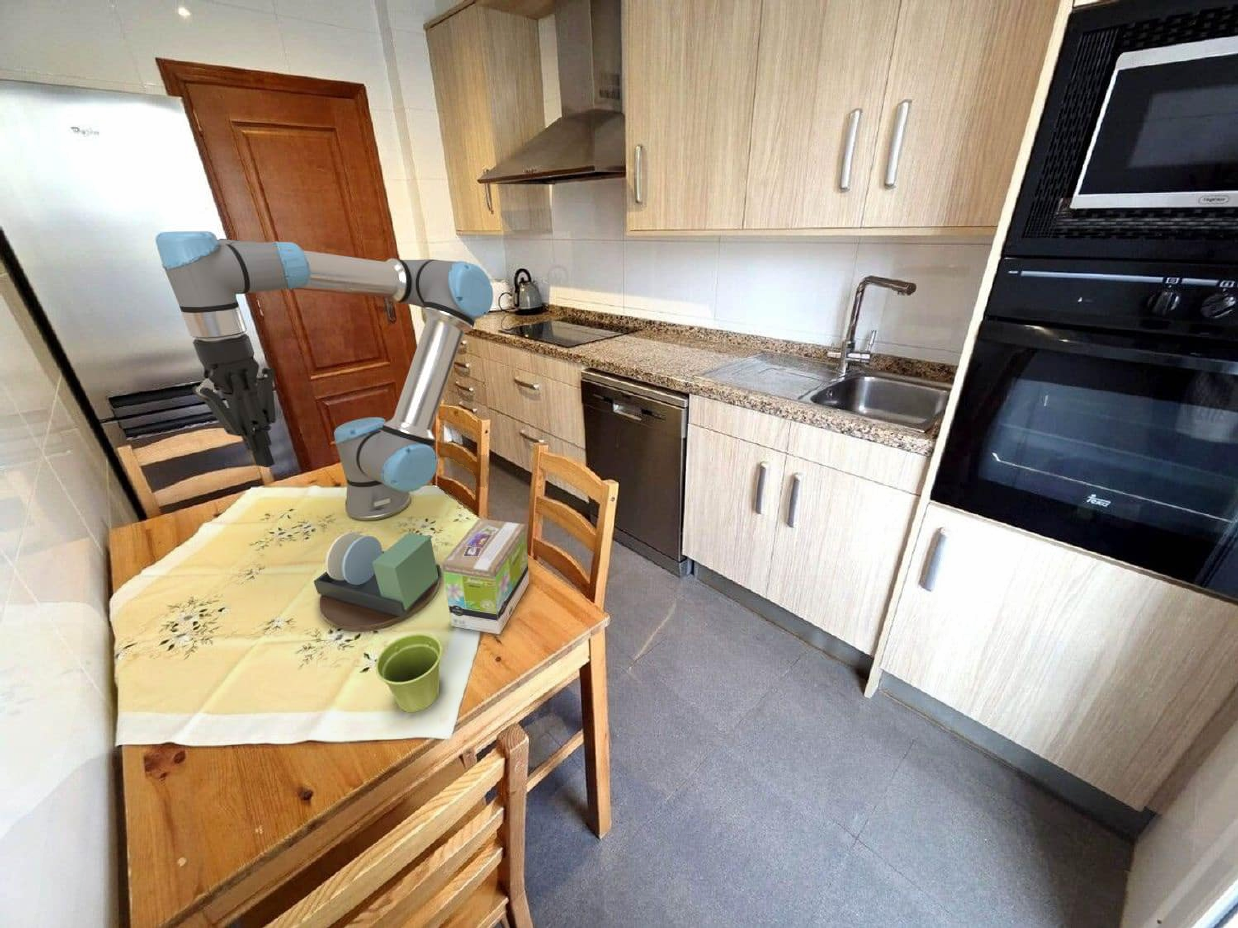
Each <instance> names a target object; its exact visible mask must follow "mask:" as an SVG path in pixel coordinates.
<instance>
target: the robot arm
mask: <svg viewBox="0 0 1238 928" xmlns="http://www.w3.org/2000/svg"><path fill="white" fill-rule="evenodd" d="M217 237H218V236H216V234H215V233H214V232H211V231H207V230H192V231H191V230H190V231H189V230H182V231H181V230H180V231H178V230H177V231H176V230H175V231H161V232H158V234H157V235H156V236H155V245H156V247H157V251H158V254H159V257H160V261H161V266H162V269H164V272H165V274H166V276H167V279H168V281H169V284H170V287H171V289H172V292H173V294H174V296H175V298H176V299H175V300H176V301H177V304H178V306H179V310H180V312H181V314H182V317H183V320H184V323H185V326H186V328H187V331H188V333H189V336H190V337H192V338H195V339H193V341H192V345H193V347H194V350H195V352H196V355H197V359H198V361H199V362H200V363H201V364H202V367H203V374H202V375H203V381H202V382H200V385H195V386H192V388H191V392H193V394H195V395H196V396H198V397H199V398H201V399H202V400H203V401H204V403H205V404H206V406H207V407H208V409H209V410H210V411H211V413H212V414H213V416H214V417H215V419H216V420H217V422H218V423H219V424H220V426H221V427H222V428H223V430H224V431H225V433H226V434H227V435H229V436H230V435H231V436H236V437H241V439H242V441H243V444H244V447H245V450H246V451H247V452H250V453H251V455H252V457H253V459H254V462H255V465H256V466H257V467H262V468H267V469H268V468H270V467H272V466H274V465H275V464H276V463H275V460H274V457H273V454H272V452H271V448H270V446H272V440H271V436H270V433H269V432H270V431H271V429H272V426H271V424H275V423H276V421H277V418H276V417H277V416H276V408H275V407H276V406H275V394H274V384H273V383H274V378H275V374H276V371H275V369H274V368H271V367H264V366H262V365H260V363H259V362H258V361H257V360H256V359H255V357H254V356H255V351H254V347H253V345H252V340H251V338H250V336H249V335H248V334H247V333H245V332H247V329H248V327H247V325H246V322H245V319H244V316H243V313H242V311H241V308H240V304H239V301H238V298H237V295H246V294H250V293H261V292H262V293H263V292H274V291H283V290H288V291H291V290H300V291H301V290H302V291H313V292H314V291H315V292H325V293H337V294H347V295H360V296H369V297H370V296H372V297H382V298H387V299H388V300H389V301H390V302H393V303H400V304H408V305H411V306H416V307H419V308H422V309H421V310H422V312H423V314H424V316H425V323H424V325H423V329H422V332H421V334H420V337H419V341H418V344H417V345H416V346H417V347H416V349H415V353H414V355H413V358H412V361H411V365H410V367H409V370H408V373H407V376H406V379H405V382H404V385H403V387H402V390H401V393H400V396H399V400H398V402H397V405H396V408H395V411H394V414H393V417H392V418H391V419H389V420H387V421H386V419H384V418H383V417H378V416H374V417H371V416H370V417H364V418H359V419H354V420H351V421H348V422H344V423H343V424H341V425H339V426H338V427H336V428H335V430H334V433H333V436H334V444H335V445H336V449H337V453H338V457H339V461H340V463H341V467H342V469H343V470H342V471H343V473H344V477H345V480H346V484H347V486H346V499H345V502H344V507H345V512H346V514H347V516H348V517H349V519H353V520H356V521H362V522H374V521H380V520H384V519H388V518H391V517H393V516H396V515H398V514H400V513H402V512H404V510H406V509H407V508H408V507H409V505H410V503H411V501H412V497H411V492H415V491H419V490H420V489H421V488H422V487H425V486H426V485H427V484H429V483H430V482H431V481H432V480H433V478H434V476H435V474H436V473H437V470H438V466H439V458H438V457H437V456H438V455H437V453H436V452H435V450H434V445H435V443H436V437H435V435H434V433H433V431H432V429H433V428H434V424H435V421H436V418H437V415H438V412H439V409H440V406H441V403H442V400H443V398H444V394H445V391H446V387H447V385H448V382H449V380H450V376H451V374H452V370H453V367H454V364H455V361H456V360H457V359H456V358H457V357H458V352H459V350H460V347H461V344H462V341H463V338H464V335H465V334H466V333H468V332H471V331H473V329H474V327H475V325H476V324H475V323H476V321H477V319H481V318H483V317H484V316H486V315H487V314H488V313H489V311H491V309H492V306H493V303H494V288H493V285H492V284H491V279H490V278H489V275H488V273H487V272H485V270H484V269H483V268H481V267H480V266H479V265H478V264H474V263H471V262H467V261H464V260H459V261H456V260H455V261H453V260H443V259H433V258H432V259H431V258H427V259H425V258H424V259H400V258H388V259H387V260H386V261H382V260H381V261H380V260H375V259H374V260H373V259H369V258H368V259H366V258H360V257H354V256H353V257H352V256H348V255H347V256H346V255H339V254H333V253H325V252H317V251H310V250H304V249H302V248H301V246H299V245H297V244H296V243H295V242H292V241H277V240H275V241H267V242H260V241H259V242H257V241H244V240H233V239H227V238H219V239H218V238H217ZM216 388H217V389H218V390H220V393H221V395H222V397H223V398H224V399H225V401H226V403H225V402H224V400H223V399H222V398H221V396H220V395H219V394H218V390H217V389H216ZM226 404H227V405H226Z"/></svg>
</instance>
